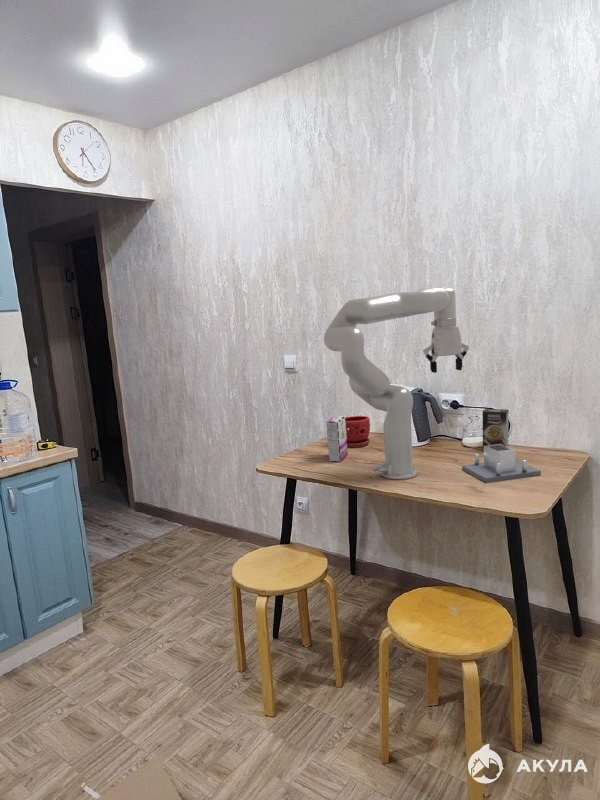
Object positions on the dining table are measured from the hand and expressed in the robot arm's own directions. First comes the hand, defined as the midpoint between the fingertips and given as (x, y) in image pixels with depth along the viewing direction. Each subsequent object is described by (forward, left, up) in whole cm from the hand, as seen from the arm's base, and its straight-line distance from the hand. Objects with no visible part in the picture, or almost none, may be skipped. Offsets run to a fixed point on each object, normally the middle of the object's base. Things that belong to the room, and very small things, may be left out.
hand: (446, 371), depth 198 cm
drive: (+10, -18, -33) cm, 39 cm away
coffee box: (+24, +8, -34) cm, 43 cm away
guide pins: (+10, -18, -33) cm, 39 cm away
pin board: (+10, -18, -34) cm, 40 cm away
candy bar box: (-36, +24, -34) cm, 55 cm away
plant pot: (-23, +42, -35) cm, 59 cm away
